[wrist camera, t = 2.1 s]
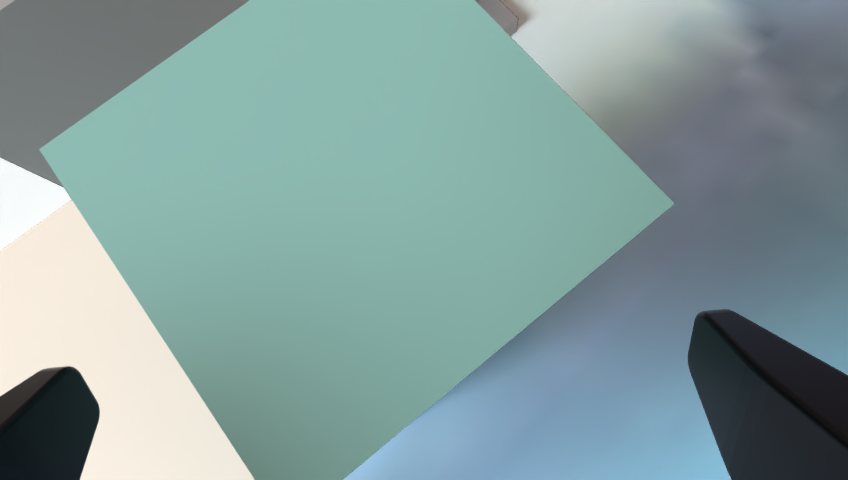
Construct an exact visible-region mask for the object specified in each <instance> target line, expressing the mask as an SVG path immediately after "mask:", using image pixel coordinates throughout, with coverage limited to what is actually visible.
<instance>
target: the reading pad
mask: <svg viewBox="0 0 848 480" xmlns="http://www.w3.org/2000/svg"><path fill="white" fill-rule="evenodd" d="M64 366H70V367H74V368H76V369H77V370H78V371H79V372H80V373H81V375H82V376H83V378H84V380H85V382H86V383H87V385H88V387H89V388H90V390H91V392H92V393H93V395H94V397H95V398H96V400H97V402H98V404H99V408H100V417H99V422H98V425H97V428H96V431H95V434H94V437H93V441H92V444H91V447H90V450H89V453H88V456H87V459H86V462H85V465H84V468H83V471H82V475H81V478H80V480H255V479H254V478H253V476H252V475H251V473H250V472H249V470H248V469H247V467H246V466H245V464H244V462H243V461H242V459H241V458H240V456H239V455H238V453H237V452H236V450H235V449H234V447H233V446H232V444H231V443H230V441H229V440H228V438H227V436H226V435H225V433H224V432H223V430H222V429H221V427H220V426H219V424H218V423H217V421H216V420H215V418H214V417H213V415H212V413H211V412H210V410H209V409H208V407H207V406H206V404H205V403H204V401H203V400H202V398H201V397H200V395H199V394H198V392H197V391H196V389H195V387H194V386H193V384H192V383H191V381H190V380H189V378H188V377H187V375H186V374H185V372H184V371H183V369H182V368H181V366H180V364H179V363H178V361H177V360H176V358H175V357H174V355H173V354H172V352H171V351H170V349H169V348H168V346H167V345H166V343H165V342H164V340H163V338H162V337H161V335H160V334H159V332H158V331H157V329H156V328H155V326H154V325H153V323H152V322H151V320H150V319H149V317H148V315H147V314H146V312H145V311H144V309H143V308H142V306H141V305H140V303H139V302H138V300H137V299H136V297H135V296H134V294H133V293H132V291H131V289H130V288H129V286H128V285H127V283H126V282H125V280H124V279H123V277H122V276H121V274H120V273H119V271H118V270H117V268H116V266H115V265H114V263H113V262H112V260H111V259H110V257H109V256H108V254H107V253H106V251H105V250H104V248H103V247H102V245H101V244H100V242H99V240H98V239H97V237H96V236H95V234H94V233H93V231H92V230H91V228H90V227H89V225H88V224H87V222H86V221H85V219H84V217H83V216H82V214H81V213H80V211H79V210H78V208H77V207H76V205H75V204H74V202H73V201H72V200H70V201H69V202H68V203H66V204H65V205H63V206H62V207H61V208H59V209H58V210H57V211H55V212H54V213H52V214H51V215H50V216H48V217H47V218H45V219H44V220H43V221H41V222H40V223H39V224H37V225H36V226H34V227H33V228H32V229H30V230H29V231H27V232H26V233H25V234H23V235H22V236H21V237H19V238H18V239H16V240H15V241H14V242H12V243H11V244H9V245H8V246H7V247H5V248H4V249H3V250H1V251H0V396H1V395H3V394H4V393H6V392H8V391H9V390H11V389H12V388H14V387H15V386H17V385H18V384H20V383H21V382H23V381H24V380H26V379H28V378H29V377H31V376H32V375H34V374H35V373H37V372H38V371H40V370H42V369H46V368H52V367H64Z"/></svg>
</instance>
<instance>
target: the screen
mask: <svg viewBox="0 0 848 480" xmlns="http://www.w3.org/2000/svg"><path fill="white" fill-rule="evenodd" d="M248 1H250V0H0V158H3V159H5V160H7V161H9V162H11V163H13V164H15V165H17V166H19V167H22V168H24V169H26V170H28V171H30V172H32V173H34V174H36V175H38V176H41V177H43V178H45V179H47V180H49V181H51V182H53V183H55V184H57V185H60V186H62V187H63V185H62V184H61V182H60V181H59V179H58V178H57V176H56V175H55V173H54V172H53V170H52V168H51V167H50V165H49V164H48V162H47V161H46V159H45V158H44V156H43V155H42V153H41V152H40V150H39V149H40V148H41V147H43V146H44V145H46V144H47V143H49V142H50V141H51V140H53V139H54V138H56V137H57V136H58V135H60V134H61V133H63V132H64V131H66V130H67V129H68V128H70V127H71V126H73V125H74V124H75V123H77V122H78V121H80V120H81V119H83V118H84V117H85V116H87V115H88V114H90V113H91V112H92V111H94V110H95V109H97V108H98V107H99V106H101V105H102V104H104V103H105V102H107V101H108V100H109V99H111V98H112V97H114V96H115V95H116V94H118V93H119V92H121V91H122V90H124V89H125V88H126V87H128V86H129V85H131V84H132V83H133V82H135V81H136V80H138V79H139V78H141V77H142V76H143V75H145V74H146V73H148V72H149V71H150V70H152V69H153V68H155V67H156V66H158V65H159V64H160V63H162V62H163V61H165V60H166V59H167V58H169V57H170V56H172V55H173V54H175V53H176V52H177V51H179V50H180V49H182V48H183V47H184V46H186V45H187V44H189V43H190V42H191V41H193V40H194V39H196V38H197V37H199V36H200V35H201V34H203V33H204V32H206V31H207V30H208V29H210V28H211V27H213V26H214V25H216V24H217V23H218V22H220V21H221V20H223V19H224V18H225V17H227V16H228V15H230V14H231V13H233V12H234V11H235V10H237V9H238V8H240V7H241V6H242V5H244V4H245V3H247V2H248ZM475 1H476V2H477V3H478V4H479V5H480V6H481V7H482V8H483V9H484V10H485V11H486V12H487V13H488V14H489V15H490V16H491V17H492V18H493V19H494V20H495V21H496V23H497V24H498V25H499V26H500V27H501V28H502V29H503V30H504V31H505V32H506V33H507V34H508V35H509V36H511V35H512V34H513V33H515V32H516V29H517V23H518V18H517V17H516V16H515V15H514V14H513V13H512V12H511V11H510V10H509V9H508V8H507V7H506V6H505V5H504V4H503V3H502V2H501V1H500V0H475Z"/></svg>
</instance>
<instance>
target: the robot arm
mask: <svg viewBox="0 0 848 480" xmlns="http://www.w3.org/2000/svg"><path fill="white" fill-rule="evenodd" d="M688 365H689V370H690V373H691V376H692V378H693V381H694V384H695V386H696V389H697V392H698V394H699V397H700V400H701V402H702V405H703V408H704V410H705V413H706V416H707V418H708V421H709V424H710V427H711V429H712V432H713V435H714V437H715V440H716V443H717V445H718V448H719V451H720V453H721V456H722V458H723V461H724V463H725V466H726V468H727V471H728V473H729V475H730V477H731V479H732V480H848V375H846V374H844V373H843V372H841V371H839V370H837V369H835V368H834V367H832V366H830V365H828V364H827V363H825V362H823V361H821V360H819V359H818V358H816V357H814V356H812V355H811V354H809V353H807V352H805V351H803V350H802V349H800V348H798V347H796V346H795V345H793V344H791V343H789V342H787V341H786V340H784V339H782V338H780V337H778V336H777V335H775V334H773V333H771V332H770V331H768V330H766V329H764V328H762V327H761V326H759V325H757V324H755V323H754V322H752V321H750V320H748V319H746V318H745V317H743V316H741V315H739V314H737V313H736V312H734V311H731V310H726V309H723V310H711V311H703V312H700V313H699V314H698V315H697V316H696V318H695V322H694V327H693V332H692V336H691V341H690V346H689V351H688ZM99 417H100V408H99V404H98V402H97V400H96V398H95V397H94V395H93V393H92V392H91V390H90V388H89V387H88V385H87V383H86V382H85V380H84V378H83V376H82V375H81V373H80V372H79V371H78V370H77V369H76V368H74V367H70V366H64V367H52V368H46V369H42V370H40V371H38V372H37V373H35V374H34V375H32V376H31V377H29V378H28V379H26V380H24V381H23V382H21V383H20V384H18V385H17V386H15V387H14V388H12V389H11V390H9V391H8V392H6V393H4V394H3V395H1V396H0V480H80V478H81V475H82V471H83V468H84V465H85V462H86V459H87V456H88V453H89V450H90V447H91V444H92V441H93V437H94V434H95V431H96V428H97V425H98V422H99Z"/></svg>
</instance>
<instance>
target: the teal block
mask: <svg viewBox="0 0 848 480" xmlns="http://www.w3.org/2000/svg"><path fill="white" fill-rule="evenodd" d="M39 150H40V152H41V153H42V155H43V156H44V158H45V159H46V161H47V162H48V164H49V165H50V167H51V168H52V170H53V172H54V173H55V175H56V176H57V178H58V179H59V181H60V182H61V184H62V185H63V187H64V188H65V190H66V191H67V193H68V194H69V196H70V198H71V199H72V201H73V202H74V204H75V205H76V207H77V208H78V210H79V211H80V213H81V214H82V216H83V217H84V219H85V221H86V222H87V224H88V225H89V227H90V228H91V230H92V231H93V233H94V234H95V236H96V237H97V239H98V240H99V242H100V244H101V245H102V247H103V248H104V250H105V251H106V253H107V254H108V256H109V257H110V259H111V260H112V262H113V263H114V265H115V266H116V268H117V270H118V271H119V273H120V274H121V276H122V277H123V279H124V280H125V282H126V283H127V285H128V286H129V288H130V289H131V291H132V293H133V294H134V296H135V297H136V299H137V300H138V302H139V303H140V305H141V306H142V308H143V309H144V311H145V312H146V314H147V315H148V317H149V319H150V320H151V322H152V323H153V325H154V326H155V328H156V329H157V331H158V332H159V334H160V335H161V337H162V338H163V340H164V342H165V343H166V345H167V346H168V348H169V349H170V351H171V352H172V354H173V355H174V357H175V358H176V360H177V361H178V363H179V364H180V366H181V368H182V369H183V371H184V372H185V374H186V375H187V377H188V378H189V380H190V381H191V383H192V384H193V386H194V387H195V389H196V391H197V392H198V394H199V395H200V397H201V398H202V400H203V401H204V403H205V404H206V406H207V407H208V409H209V410H210V412H211V413H212V415H213V417H214V418H215V420H216V421H217V423H218V424H219V426H220V427H221V429H222V430H223V432H224V433H225V435H226V436H227V438H228V440H229V441H230V443H231V444H232V446H233V447H234V449H235V450H236V452H237V453H238V455H239V456H240V458H241V459H242V461H243V462H244V464H245V466H246V467H247V469H248V470H249V472H250V473H251V475H252V476H253V478H254V479H255V480H343V479H344V478H345V477H347V476H348V475H349V474H350V473H351V472H353V471H354V470H355V469H356V468H357V467H359V466H360V465H361V464H362V463H363V462H365V461H366V460H367V459H368V458H369V457H371V456H372V455H373V454H374V453H375V452H377V451H378V450H379V449H380V448H381V447H383V446H384V445H385V444H386V443H387V442H389V441H390V440H391V439H392V438H393V437H395V436H396V435H397V434H398V433H399V432H401V431H402V430H403V429H404V428H405V427H407V426H408V425H409V424H410V423H411V422H413V421H414V420H415V419H416V418H417V417H419V416H420V415H421V414H422V413H424V412H425V411H426V410H427V409H428V408H430V407H431V406H432V405H433V404H434V403H436V402H437V401H438V400H439V399H440V398H442V397H443V396H444V395H445V394H446V393H448V392H449V391H450V390H451V389H452V388H454V387H455V386H456V385H457V384H458V383H460V382H461V381H462V380H463V379H464V378H466V377H467V376H468V375H469V374H470V373H472V372H473V371H474V370H475V369H476V368H478V367H479V366H480V365H481V364H482V363H484V362H485V361H486V360H487V359H488V358H490V357H491V356H492V355H493V354H494V353H496V352H497V351H498V350H499V349H500V348H502V347H503V346H504V345H505V344H507V343H508V342H509V341H510V340H511V339H513V338H514V337H515V336H516V335H517V334H519V333H520V332H521V331H522V330H523V329H525V328H526V327H527V326H528V325H529V324H531V323H532V322H533V321H534V320H535V319H537V318H538V317H539V316H540V315H541V314H543V313H544V312H545V311H546V310H547V309H549V308H550V307H551V306H552V305H553V304H555V303H556V302H557V301H558V300H559V299H561V298H562V297H563V296H564V295H565V294H567V293H568V292H569V291H570V290H571V289H573V288H574V287H575V286H576V285H577V284H579V283H580V282H581V281H582V280H584V279H585V278H586V277H587V276H588V275H590V274H591V273H592V272H593V271H594V270H596V269H597V268H598V267H599V266H600V265H602V264H603V263H604V262H605V261H606V260H608V259H609V258H610V257H611V256H612V255H614V254H615V253H616V252H617V251H618V250H620V249H621V248H622V247H623V246H624V245H626V244H627V243H628V242H629V241H630V240H632V239H633V238H634V237H635V236H636V235H638V234H639V233H640V232H641V231H642V230H644V229H645V228H646V227H647V226H648V225H650V224H651V223H652V222H653V221H654V220H656V219H657V218H658V217H659V216H661V215H662V214H663V213H664V212H665V211H667V210H668V209H669V208H670V207H671V206H673V205H674V204H675V203H674V202H673V201H672V200H671V199H670V198H669V197H668V196H667V195H666V194H665V193H664V192H663V191H662V190H661V189H660V188H659V187H658V186H657V185H656V184H655V183H654V182H653V181H652V180H651V179H650V178H649V177H648V176H647V175H646V174H645V173H644V172H643V171H642V170H641V169H640V168H639V167H638V166H637V165H636V164H635V163H634V162H633V161H632V160H631V159H630V158H629V157H628V156H627V155H626V154H625V152H624V151H623V150H622V149H621V148H620V147H619V146H618V145H617V144H616V143H615V142H614V141H613V140H612V139H611V138H610V137H609V136H608V135H607V134H606V133H605V132H604V131H603V130H602V129H601V128H600V127H599V126H598V125H597V124H596V123H595V122H594V121H593V120H592V119H591V118H590V117H589V116H588V115H587V114H586V113H585V112H584V111H583V110H582V109H581V108H580V107H579V106H578V105H577V104H576V103H575V102H574V101H573V100H572V99H571V98H570V97H569V96H568V95H567V94H566V93H565V92H564V91H563V90H562V89H561V87H560V86H559V85H558V84H557V83H556V82H555V81H554V80H553V79H552V78H551V77H550V76H549V75H548V74H547V73H546V72H545V71H544V70H543V69H542V68H541V67H540V66H539V65H538V64H537V63H536V62H535V61H534V60H533V59H532V58H531V57H530V56H529V55H528V54H527V53H526V52H525V51H524V50H523V49H522V48H521V47H520V46H519V45H518V44H517V43H516V42H515V41H514V40H513V39H512V38H511V37H510V36H509V35H508V34H507V33H506V32H505V31H504V30H503V29H502V28H501V27H500V26H499V25H498V24H497V23H496V21H495V20H494V19H493V18H492V17H491V16H490V15H489V14H488V13H487V12H486V11H485V10H484V9H483V8H482V7H481V6H480V5H479V4H478V3H477V2H476V1H475V0H250V1H248V2H247V3H245V4H244V5H242V6H241V7H240V8H238V9H237V10H235V11H234V12H233V13H231V14H230V15H228V16H227V17H225V18H224V19H223V20H221V21H220V22H218V23H217V24H216V25H214V26H213V27H211V28H210V29H208V30H207V31H206V32H204V33H203V34H201V35H200V36H199V37H197V38H196V39H194V40H193V41H191V42H190V43H189V44H187V45H186V46H184V47H183V48H182V49H180V50H179V51H177V52H176V53H175V54H173V55H172V56H170V57H169V58H167V59H166V60H165V61H163V62H162V63H160V64H159V65H158V66H156V67H155V68H153V69H152V70H150V71H149V72H148V73H146V74H145V75H143V76H142V77H141V78H139V79H138V80H136V81H135V82H133V83H132V84H131V85H129V86H128V87H126V88H125V89H124V90H122V91H121V92H119V93H118V94H116V95H115V96H114V97H112V98H111V99H109V100H108V101H107V102H105V103H104V104H102V105H101V106H99V107H98V108H97V109H95V110H94V111H92V112H91V113H90V114H88V115H87V116H85V117H84V118H83V119H81V120H80V121H78V122H77V123H75V124H74V125H73V126H71V127H70V128H68V129H67V130H66V131H64V132H63V133H61V134H60V135H58V136H57V137H56V138H54V139H53V140H51V141H50V142H49V143H47V144H46V145H44V146H43V147H41V148H40V149H39Z"/></svg>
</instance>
